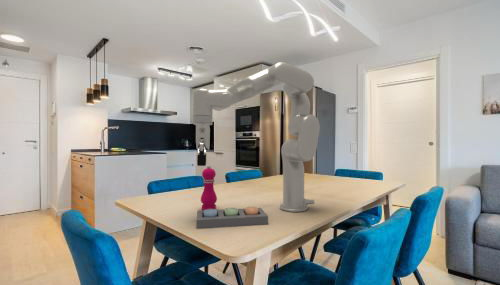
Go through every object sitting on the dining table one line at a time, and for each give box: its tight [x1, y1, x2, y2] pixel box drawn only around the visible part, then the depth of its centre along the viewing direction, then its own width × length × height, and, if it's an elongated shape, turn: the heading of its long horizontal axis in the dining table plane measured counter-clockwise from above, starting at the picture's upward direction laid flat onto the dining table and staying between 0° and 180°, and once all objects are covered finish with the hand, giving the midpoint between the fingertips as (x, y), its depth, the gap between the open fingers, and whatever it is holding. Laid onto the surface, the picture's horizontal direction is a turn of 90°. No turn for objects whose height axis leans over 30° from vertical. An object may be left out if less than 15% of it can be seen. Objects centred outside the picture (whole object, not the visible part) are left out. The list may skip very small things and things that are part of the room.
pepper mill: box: [200, 164, 218, 211], centre depth 116 cm, size 7×7×20 cm
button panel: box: [196, 207, 269, 230], centre depth 99 cm, size 26×12×3 cm, turn 101°
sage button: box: [224, 207, 239, 216], centre depth 99 cm, size 5×5×3 cm
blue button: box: [203, 208, 218, 217], centre depth 97 cm, size 5×5×3 cm
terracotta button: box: [244, 206, 259, 215], centre depth 100 cm, size 5×5×3 cm
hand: (201, 164), depth 101 cm, fingers open, 9 cm apart
